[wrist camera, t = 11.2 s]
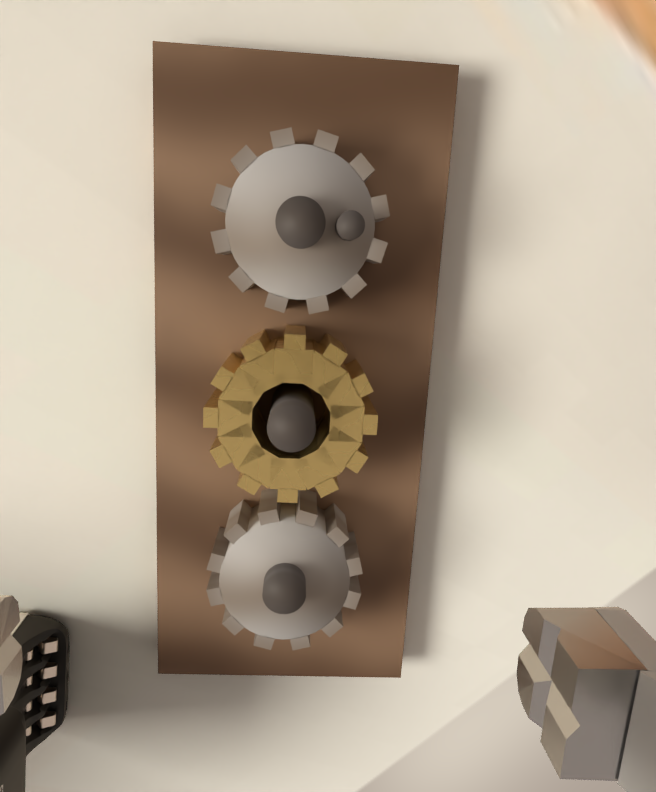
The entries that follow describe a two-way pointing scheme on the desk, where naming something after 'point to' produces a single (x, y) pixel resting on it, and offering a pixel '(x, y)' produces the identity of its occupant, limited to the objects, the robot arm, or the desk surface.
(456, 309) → the desk surface
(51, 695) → the battery charger
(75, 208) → the desk surface
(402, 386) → the gear board
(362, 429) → the brass gear
